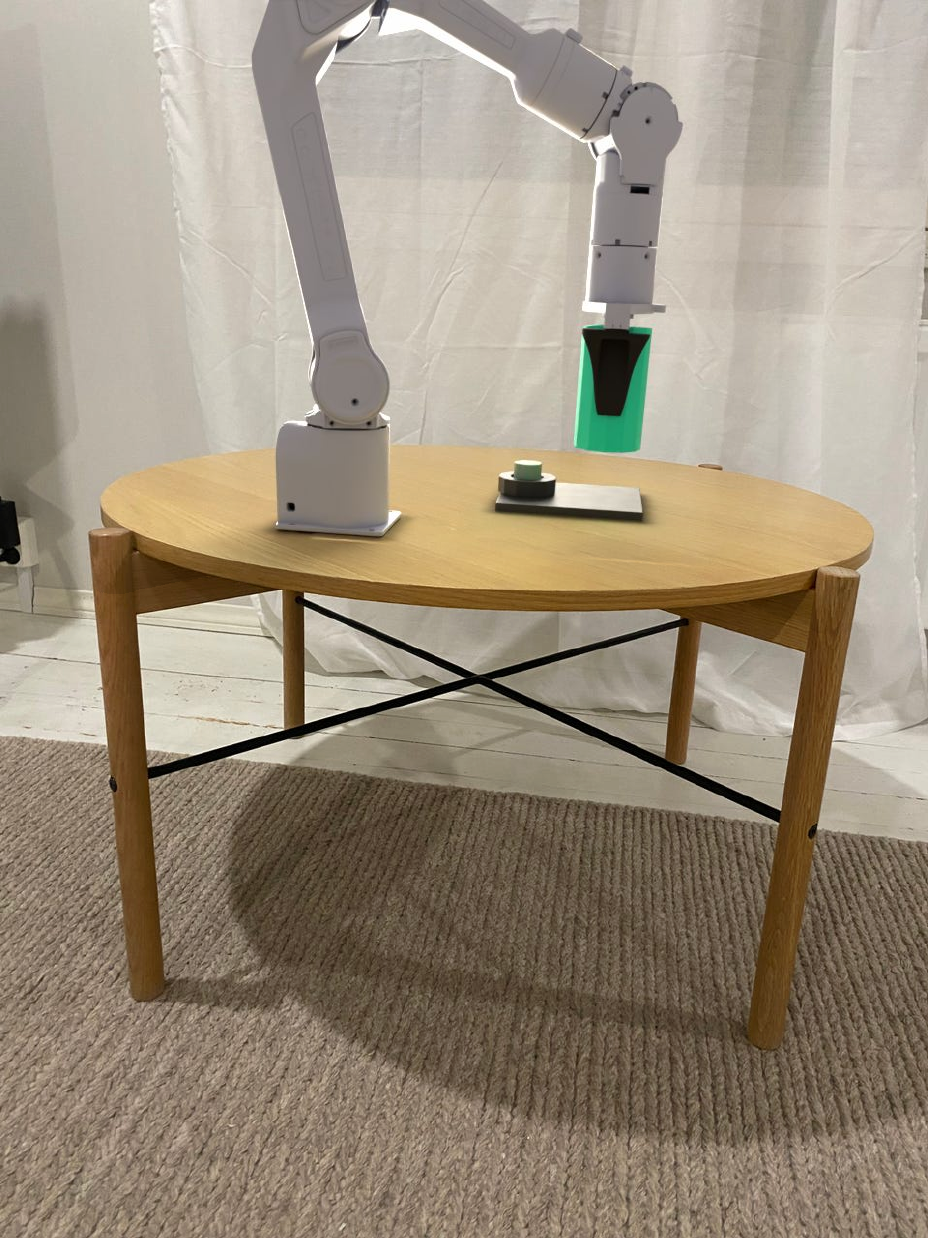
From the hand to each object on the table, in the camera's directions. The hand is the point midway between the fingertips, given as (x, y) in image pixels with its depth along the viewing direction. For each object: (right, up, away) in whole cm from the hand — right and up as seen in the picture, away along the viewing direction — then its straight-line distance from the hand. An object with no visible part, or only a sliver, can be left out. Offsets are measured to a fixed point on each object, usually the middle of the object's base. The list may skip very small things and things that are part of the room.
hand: (609, 411), depth 82 cm
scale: (-2, -7, +11) cm, 13 cm away
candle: (0, -3, +1) cm, 3 cm away
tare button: (-7, -5, +11) cm, 13 cm away
